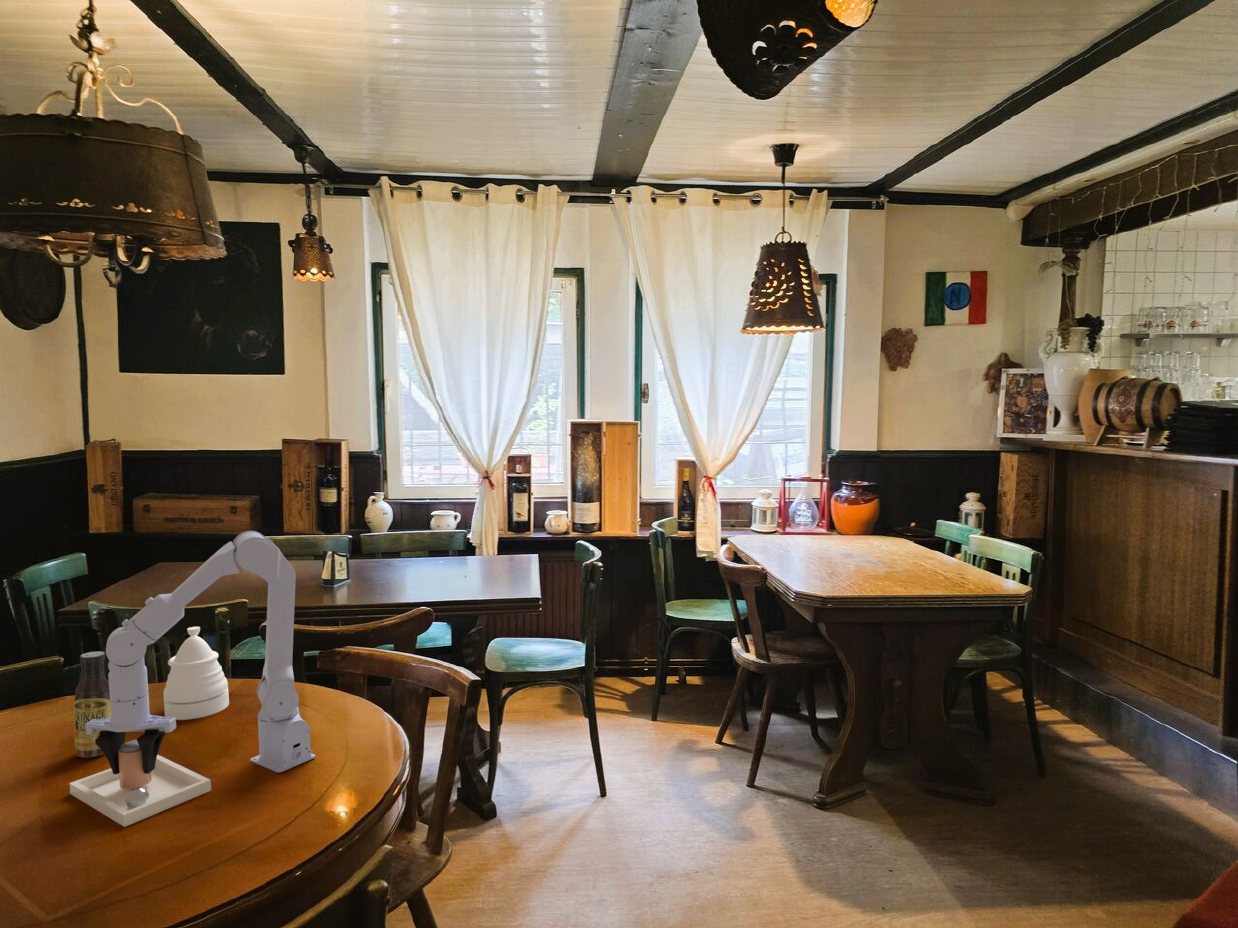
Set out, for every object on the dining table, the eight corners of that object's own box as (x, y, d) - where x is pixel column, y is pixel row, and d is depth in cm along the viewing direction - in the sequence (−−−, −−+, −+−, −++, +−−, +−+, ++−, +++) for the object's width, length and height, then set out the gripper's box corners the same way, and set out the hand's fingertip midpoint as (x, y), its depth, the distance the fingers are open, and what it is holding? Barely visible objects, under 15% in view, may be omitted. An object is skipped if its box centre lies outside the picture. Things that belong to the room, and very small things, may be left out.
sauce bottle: (70, 761, 150) (63, 660, 148) (83, 748, 156) (76, 651, 154) (109, 757, 151) (102, 657, 150) (120, 743, 157) (114, 647, 156)
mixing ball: (153, 806, 131) (152, 786, 131) (131, 815, 128) (130, 794, 128) (143, 800, 133) (142, 780, 133) (121, 809, 130) (120, 789, 130)
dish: (211, 793, 136) (210, 779, 136) (124, 830, 125) (123, 815, 124) (154, 765, 147) (154, 752, 147) (70, 796, 136) (69, 782, 136)
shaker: (158, 777, 139) (156, 738, 139) (137, 789, 135) (136, 749, 134) (133, 776, 140) (132, 737, 140) (112, 788, 135) (111, 748, 135)
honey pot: (168, 703, 179) (163, 626, 178) (230, 694, 184) (226, 619, 183) (160, 723, 167) (155, 641, 166) (227, 713, 172) (223, 634, 171)
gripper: (183, 686, 140) (187, 759, 141) (102, 688, 140) (107, 761, 141) (161, 701, 133) (166, 778, 134) (75, 703, 133) (80, 780, 134)
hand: (134, 771), depth 137 cm, fingers closed on shaker, 5 cm apart
